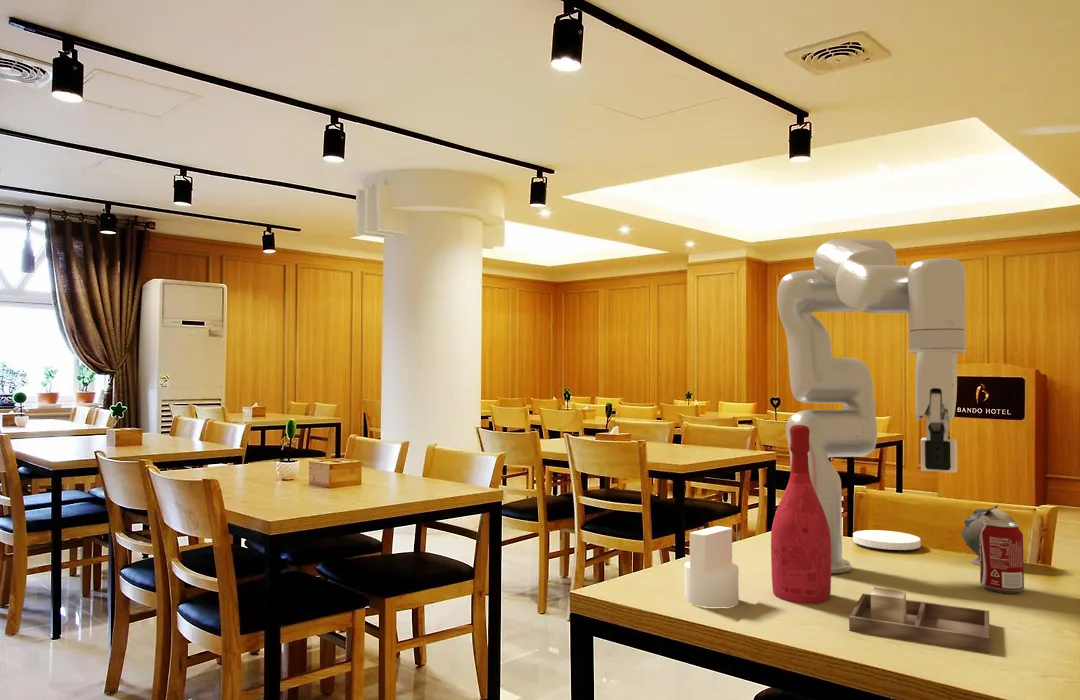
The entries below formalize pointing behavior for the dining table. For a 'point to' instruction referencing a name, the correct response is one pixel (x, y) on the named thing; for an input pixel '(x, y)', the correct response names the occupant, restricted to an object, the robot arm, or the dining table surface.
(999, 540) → the soda can
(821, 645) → the dining table surface
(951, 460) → the letter cube
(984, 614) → the organiser
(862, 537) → the plastic lid
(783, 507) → the wine bottle
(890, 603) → the plain cube
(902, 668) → the dining table surface
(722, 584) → the cylinder with rectangular tab
